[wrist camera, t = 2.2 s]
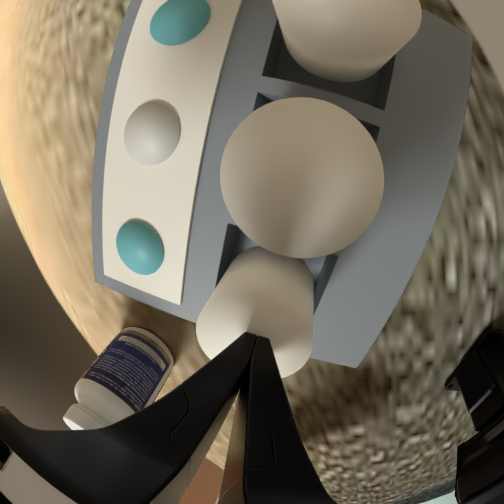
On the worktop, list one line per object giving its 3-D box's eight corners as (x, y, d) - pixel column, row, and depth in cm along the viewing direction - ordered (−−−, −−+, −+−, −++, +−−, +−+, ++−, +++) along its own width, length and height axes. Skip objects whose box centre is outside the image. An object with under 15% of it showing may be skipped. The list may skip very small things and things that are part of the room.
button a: (392, 17, 6) (423, -26, 3) (378, 97, 8) (414, 76, 4) (294, -10, 7) (284, -64, 3) (273, 67, 8) (253, 30, 5)
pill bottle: (116, 316, 20) (42, 397, 11) (173, 336, 19) (107, 439, 10) (126, 359, 22) (71, 434, 13) (177, 379, 21) (129, 468, 12)
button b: (369, 132, 9) (402, 129, 5) (338, 230, 10) (352, 276, 7) (264, 102, 9) (239, 82, 5) (241, 201, 11) (207, 233, 7)
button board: (446, 51, 8) (476, 35, 5) (352, 334, 16) (356, 372, 13) (167, -6, 9) (138, -27, 6) (121, 261, 17) (91, 284, 14)
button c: (326, 260, 11) (331, 314, 8) (297, 330, 13) (290, 390, 9) (235, 233, 11) (203, 276, 8) (219, 307, 13) (191, 360, 10)
